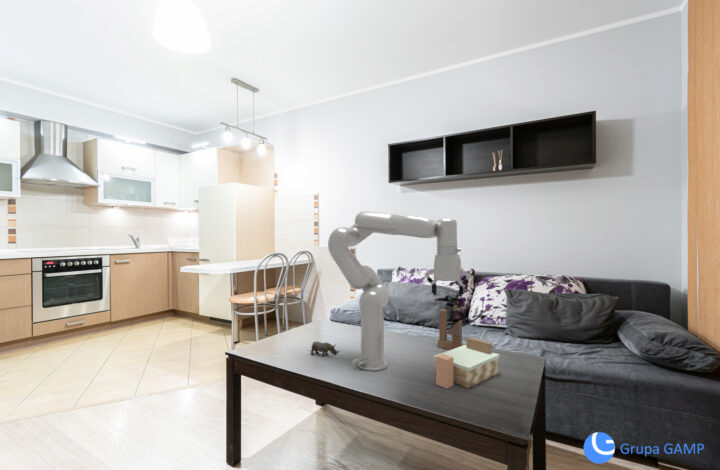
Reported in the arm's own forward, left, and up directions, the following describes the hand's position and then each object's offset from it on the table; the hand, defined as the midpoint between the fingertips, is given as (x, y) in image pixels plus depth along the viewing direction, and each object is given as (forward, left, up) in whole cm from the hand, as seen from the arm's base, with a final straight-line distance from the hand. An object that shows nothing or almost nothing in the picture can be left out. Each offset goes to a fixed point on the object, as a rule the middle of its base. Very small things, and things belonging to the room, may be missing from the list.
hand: (447, 295), depth 125 cm
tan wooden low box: (+6, -4, -30) cm, 31 cm away
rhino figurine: (-25, +48, -31) cm, 62 cm away
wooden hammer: (+26, +18, -31) cm, 44 cm away
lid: (+6, -4, -24) cm, 25 cm away
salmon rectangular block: (-8, -4, -30) cm, 32 cm away
